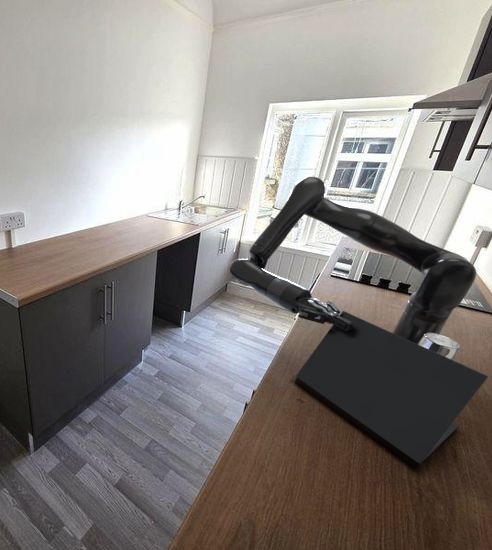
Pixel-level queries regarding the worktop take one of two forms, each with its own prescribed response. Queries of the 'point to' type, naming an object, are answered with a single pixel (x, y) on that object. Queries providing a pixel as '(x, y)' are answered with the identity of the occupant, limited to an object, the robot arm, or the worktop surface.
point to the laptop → (376, 437)
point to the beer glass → (440, 344)
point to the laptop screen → (391, 384)
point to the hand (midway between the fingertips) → (350, 327)
